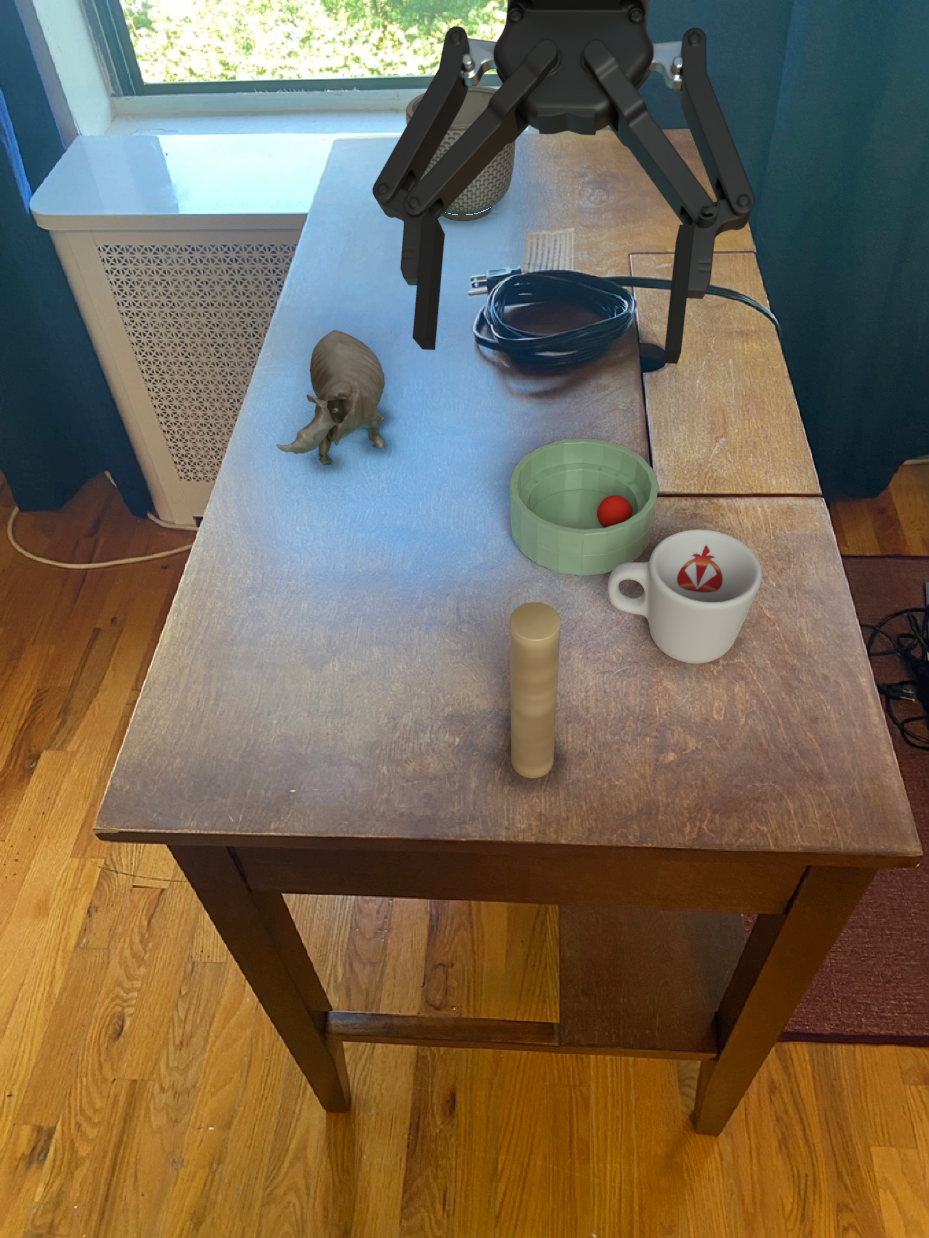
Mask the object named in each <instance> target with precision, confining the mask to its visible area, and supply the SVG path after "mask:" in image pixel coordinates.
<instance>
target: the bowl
mask: <svg viewBox="0 0 929 1238" xmlns="http://www.w3.org/2000/svg"><path fill="white" fill-rule="evenodd" d="M659 487H660V484H659V483H658V479H657V476H656V473H655V470H654V469H653V468H652V467H651V466H650V464H649V462H647V461H646V459H644V458H643V457H642V456H641V455H639V454H638V453H636V452H634V451H633V450H631V449H629V448H628V447H626V446H624V445H620V444H617V443H614V442H611V441H608V440H601V439H595V438H586V437H585V438H583V437H582V438H581V437H580V438H569V439H559V440H557V441H554V442H551V443H547V444H544V445H541V446H539V447H537V448H535V449H534V450H532V451H531V452H528V453H527V454H525V456H523V458H522V459H521V460H519V462H518V463H517V464H516V465H515V467H514V468H513V471H512V474H511V477H510V481H509V525H510V532H511V538H512V540H513V542H514V543H515V544H516V546H517V548H518V549H519V550H520V553H522V554H523V555H524V556H525V557H528V559H530V561H532V562H533V563H535V564H536V565H539V566H541V567H544V568H546V569H548V570H551V571H554V572H556V573H559V574H565V575H573V576H579V577H580V576H594V575H603V574H607V573H610V572H612V571H613V570H614V568H616V567H617V566H618V565H620V564H624V563H629V562H635V560H637V559H638V558H640V557H641V556H642V554H643V553H644V552H645V550H646V549H647V547H648V546H649V545H650V543H651V539H652V533H653V528H654V521H655V515H656V507H657V501H658V494H659ZM614 495H616V496H621V497H623V498H625V499H626V500H627V501H628V502H629V503H630V505H631V507H632V517H631V518H630V519H628V520H627V521H625V522H622V523H619V524H616V525H613V526H610V527H606V528H604V527H603V526H602V525H601V524H600V522H599V520H598V518H597V509H598V506H599V504H600V503H601V502H602V500H604V499H605V498H607V497H609V496H614Z"/></svg>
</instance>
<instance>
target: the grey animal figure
mask: <svg viewBox="0 0 929 1238" xmlns="http://www.w3.org/2000/svg"><path fill="white" fill-rule="evenodd" d="M309 374H310V375H309V376H310V378H309V379H310V383H311V384H310V385H311V388H312V391H313V392H314V394H315V396H314V395H312V394H309V393H307V394H306V399H307V401H308V402H309V403H313V404H315V407H314V408H315V409H314V417H313V418H312V419H311V421H310V422H309V423H308V424H306V425H305V426H304V427H302V428H301V429H299V430H298V431H297V434H296V437H295V440H294V441H292V442H291V443H288V444H284V445H283V444H279V443H276V448H278V449H279V450H280V451H282V452H283V453H293V454H295V455H298V454H302V455H303V454H306V453H309V452H312V451H314V450H316V449H317V448H318V457H319V458H317V460H318V461H319V462H320V463H321V464H322V465H323V466H329V465H330V466H333V463H334V461H333V460H332V459H331V458H330V457H329V456H328V454H329V452H330V449H331V445H332V443H333V444H334V445H335V446H336V447H337V446H339V443H340V440H341V439H344V438H346V437H347V436H349V435H350V434H352V433H354V432H355V431H356V430H359V429H363V428H364V429H367V434H368V440H369V441H371V442H374V444H372V445H371V447H372V448H375V449H376V448H377V449H379V448H380V449H385V448H386V443H385V441H384V439H383V438H382V436H381V434H380V433H379V432H380V427H379V426H380V423H382V421H383V420H384V419H385V417H384V416H383V415H382V414H381V413H380V411H379V408H378V406H379V404H380V402H381V399H382V396H383V393H384V390H385V385H386V380H385V378H386V377H385V372H384V370H383V368H382V364H381V363H380V360H379V358H378V356H377V355H376V354H375V352H374V351H373V350H372V349H371V348H370V347H369V346H368V345H366V344H365V343H364V342H363V341H361V340H359V339H358V338H356V337H354V336H352V335H350V334H349V333H346V332H345V331H341V330H336V329H334V330H331V331H330V332H328V333H327V334H325V335H324V336H323V337H322V338H321V339H320V340H319V341H318V342H317V343H316V345H315V346H314V348H313V349H312V352H311V356H310V365H309Z"/></svg>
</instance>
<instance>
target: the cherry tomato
mask: <svg viewBox="0 0 929 1238" xmlns="http://www.w3.org/2000/svg"><path fill="white" fill-rule="evenodd" d="M631 517H632V507H631V505H630V503H629V502H628V501H627V500H626V499H625V498H623V497H621V496H616V495H614V496H609V497H607V498H605V499H604V500H602V502H601V503H600V504H599V506H598V509H597V518H598V520H599V522H600V524H601V525H602V526H603V527H604V528H606V527H610V526H613V525H616V524H619V523H622V522H625V521H627V520H628V519H630V518H631Z"/></svg>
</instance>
